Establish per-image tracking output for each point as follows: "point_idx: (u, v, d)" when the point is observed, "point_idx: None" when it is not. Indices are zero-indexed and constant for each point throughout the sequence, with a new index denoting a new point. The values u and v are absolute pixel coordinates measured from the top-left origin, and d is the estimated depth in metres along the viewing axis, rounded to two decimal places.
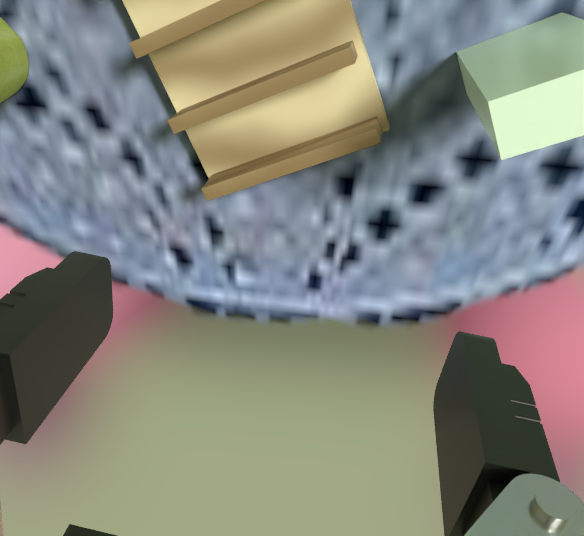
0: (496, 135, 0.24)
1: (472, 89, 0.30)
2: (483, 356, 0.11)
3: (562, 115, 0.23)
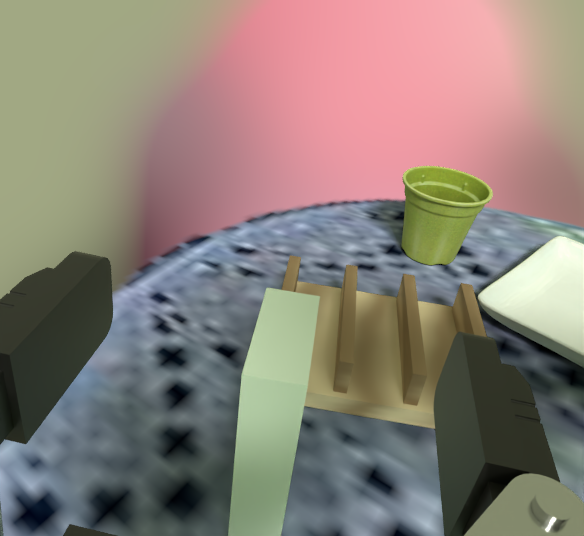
0: (289, 291, 0.28)
1: None
2: (483, 356, 0.11)
3: (281, 324, 0.26)
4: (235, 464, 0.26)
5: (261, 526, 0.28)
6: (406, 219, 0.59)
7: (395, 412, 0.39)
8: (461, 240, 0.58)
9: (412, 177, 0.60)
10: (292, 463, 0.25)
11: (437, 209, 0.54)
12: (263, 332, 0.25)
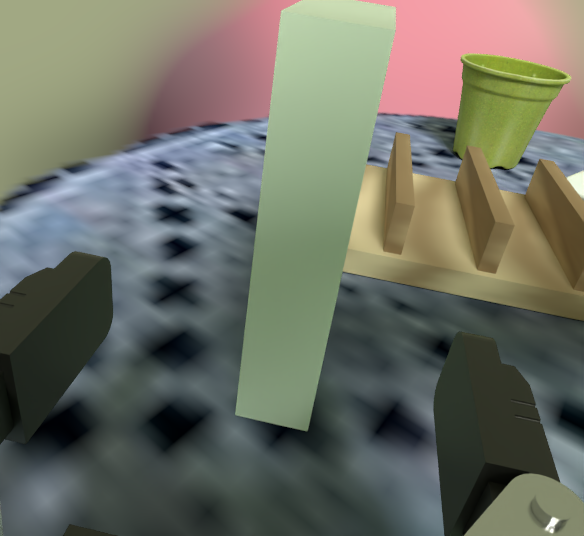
0: None
1: None
2: (483, 356, 0.11)
3: (341, 6, 0.16)
4: (258, 226, 0.16)
5: (291, 355, 0.18)
6: (462, 111, 0.49)
7: (466, 280, 0.29)
8: (528, 137, 0.48)
9: None
10: (351, 219, 0.15)
11: (504, 89, 0.45)
12: (313, 4, 0.15)
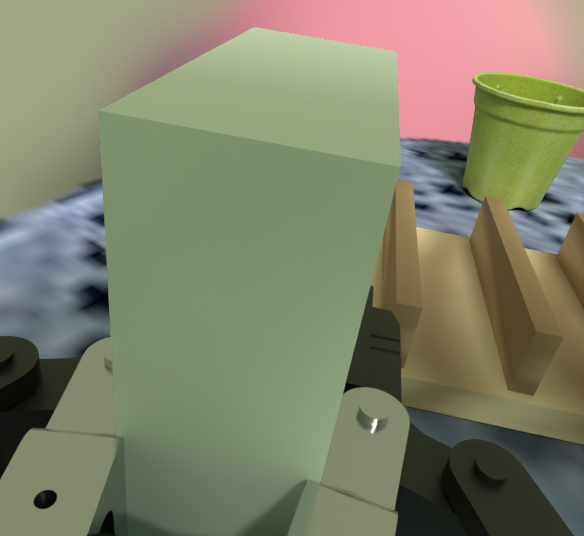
0: (314, 38, 0.10)
1: None
2: None
3: (288, 61, 0.08)
4: None
5: None
6: (474, 142, 0.41)
7: (493, 405, 0.21)
8: (554, 173, 0.40)
9: None
10: None
11: (527, 118, 0.37)
12: (227, 62, 0.07)
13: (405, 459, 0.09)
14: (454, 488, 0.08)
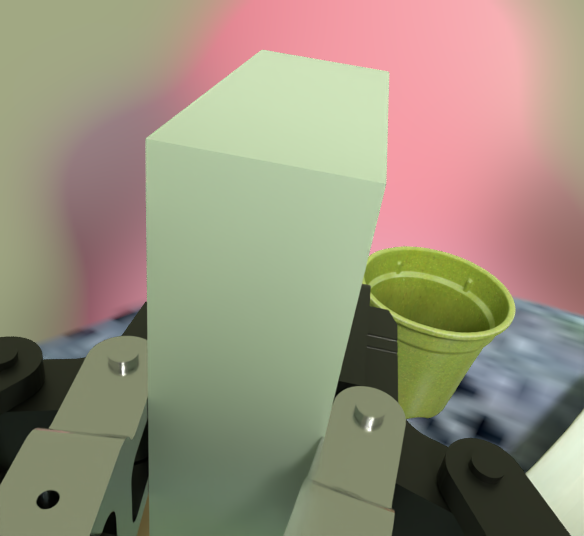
0: (315, 60, 0.12)
1: None
2: None
3: (293, 86, 0.09)
4: (152, 470, 0.09)
5: None
6: None
7: None
8: (457, 382, 0.33)
9: (380, 266, 0.36)
10: None
11: (413, 338, 0.30)
12: (240, 90, 0.09)
13: (401, 458, 0.09)
14: (450, 487, 0.08)
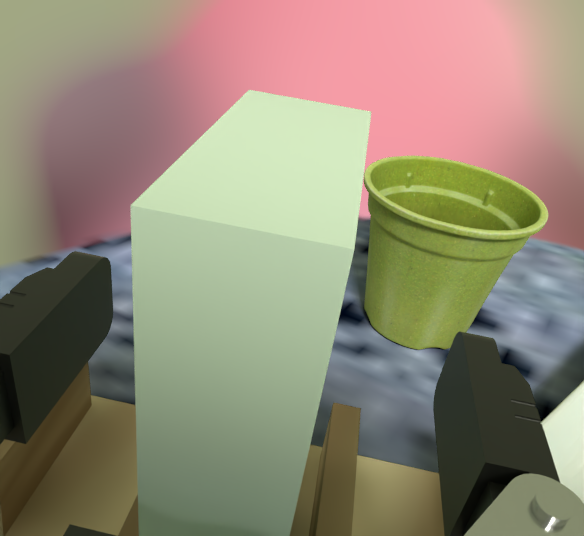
0: (300, 100, 0.12)
1: None
2: (483, 356, 0.11)
3: (276, 134, 0.10)
4: (141, 501, 0.10)
5: None
6: (370, 257, 0.30)
7: None
8: (479, 304, 0.29)
9: (387, 176, 0.31)
10: (292, 507, 0.09)
11: (430, 242, 0.25)
12: (224, 141, 0.09)
13: None
14: None
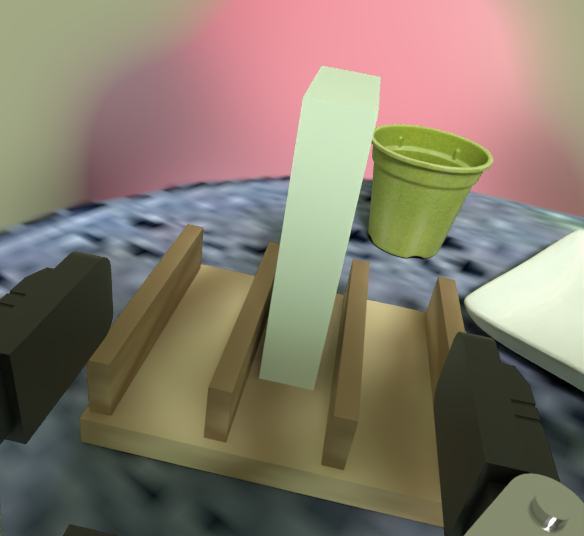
0: (346, 70, 0.25)
1: None
2: (483, 356, 0.11)
3: (341, 82, 0.23)
4: (282, 238, 0.23)
5: (302, 332, 0.25)
6: (373, 193, 0.43)
7: (305, 479, 0.23)
8: (447, 224, 0.42)
9: (385, 138, 0.44)
10: (348, 234, 0.22)
11: (413, 176, 0.39)
12: (322, 83, 0.22)
13: None
14: None
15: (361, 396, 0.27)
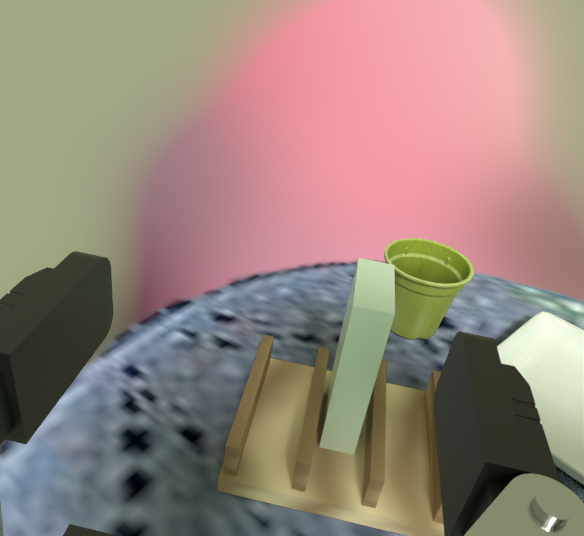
0: (373, 261, 0.41)
1: None
2: (483, 356, 0.11)
3: (372, 279, 0.39)
4: (338, 372, 0.39)
5: (348, 421, 0.41)
6: None
7: (352, 513, 0.39)
8: (441, 316, 0.58)
9: (395, 250, 0.60)
10: (377, 371, 0.38)
11: (416, 288, 0.54)
12: (361, 283, 0.38)
13: None
14: None
15: None
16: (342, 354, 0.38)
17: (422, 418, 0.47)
